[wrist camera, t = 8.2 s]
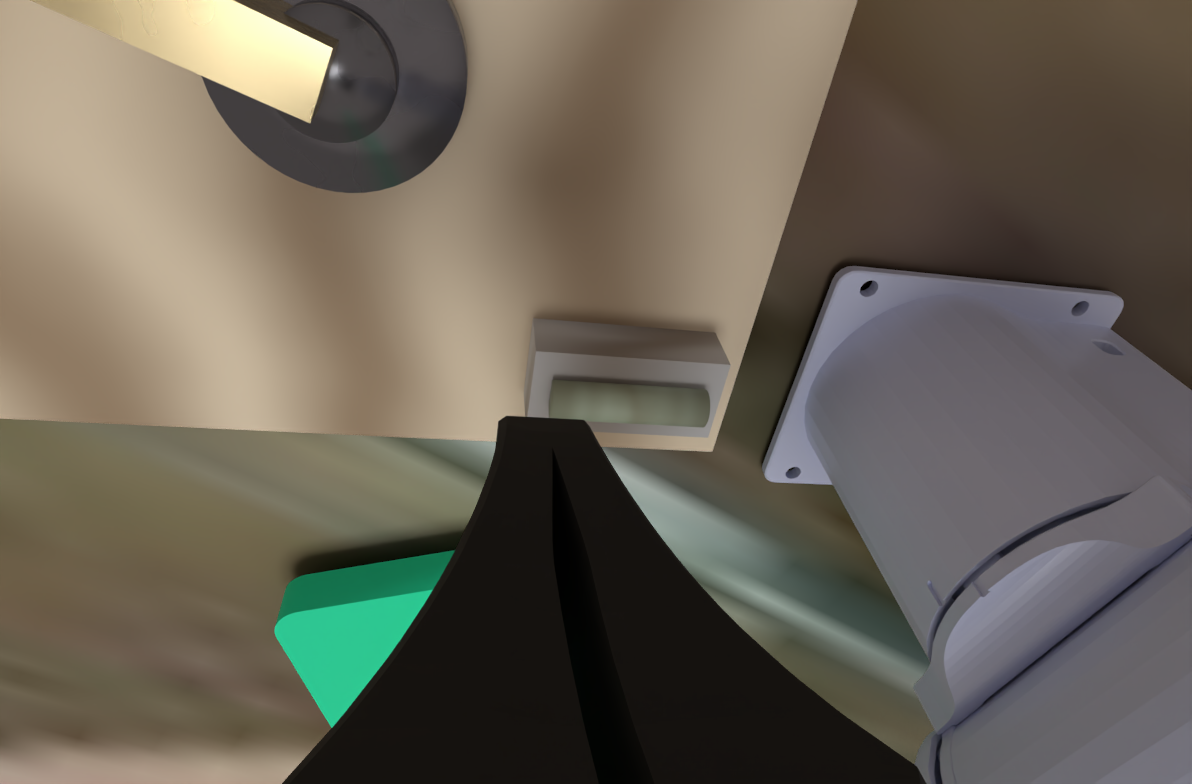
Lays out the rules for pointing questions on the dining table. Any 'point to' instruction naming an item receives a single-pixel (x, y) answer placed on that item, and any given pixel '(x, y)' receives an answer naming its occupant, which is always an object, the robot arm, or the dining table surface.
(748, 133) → the base plate
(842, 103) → the dining table surface
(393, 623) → the camera mount
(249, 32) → the bar with round base
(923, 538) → the robot arm
